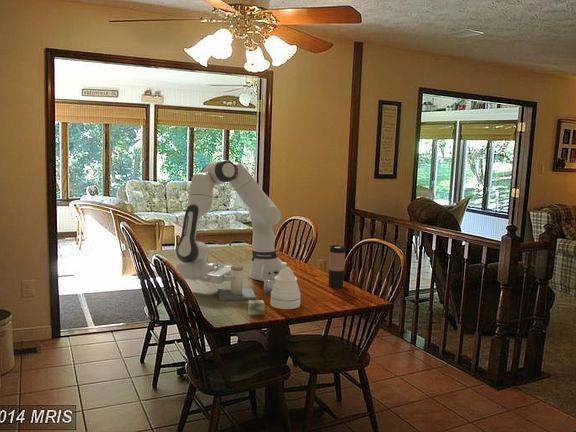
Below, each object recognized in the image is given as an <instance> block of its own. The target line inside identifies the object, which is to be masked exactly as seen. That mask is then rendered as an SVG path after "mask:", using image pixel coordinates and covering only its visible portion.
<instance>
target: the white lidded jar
mask: <svg viewBox="0 0 576 432" xmlns="http://www.w3.org/2000/svg"><path fill="white" fill-rule="evenodd" d="M243 275H244V266H243V265H239V264H235V265H233V266H231V276H235V280H234V281H231V280H230V289H231V294H234V295H239V294H242V289H243V278H244V277H243Z"/></svg>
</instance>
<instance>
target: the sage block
mask: <svg viewBox="0 0 576 432" xmlns="http://www.w3.org/2000/svg"><path fill="white" fill-rule="evenodd" d="M247 301H248V308H247V309H248V310H247V313H248V315H249V316H264V315H265V301H264V300H263V299H256V300H247Z"/></svg>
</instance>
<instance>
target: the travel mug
mask: <svg viewBox="0 0 576 432" xmlns="http://www.w3.org/2000/svg"><path fill="white" fill-rule="evenodd" d="M345 263H346V246H345V245H344V246H339V245H336V244H335V245H334V244H333V245H332V244H331V245H329V262H328V284H327V285H328V287H329V288H332V289H341V288H343V286H344V277H345V265H346V264H345Z"/></svg>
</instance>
